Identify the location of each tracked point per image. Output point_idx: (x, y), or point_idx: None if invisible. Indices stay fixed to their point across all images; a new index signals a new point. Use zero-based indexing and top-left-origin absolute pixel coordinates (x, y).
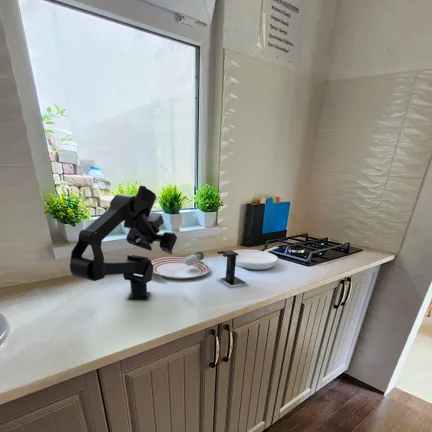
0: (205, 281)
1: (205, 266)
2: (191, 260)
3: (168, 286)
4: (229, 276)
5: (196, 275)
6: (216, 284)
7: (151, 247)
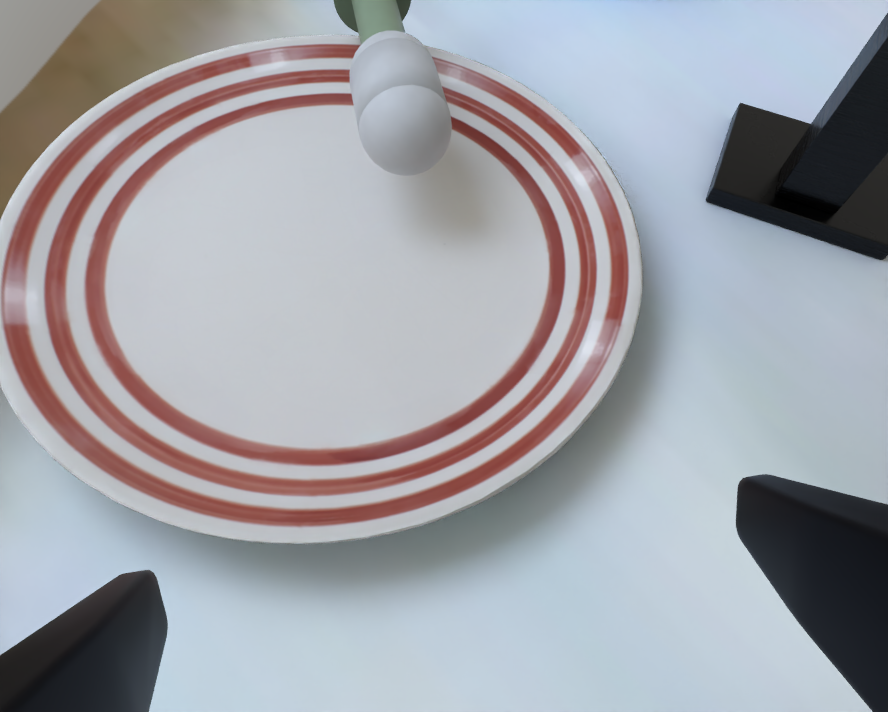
0: (650, 278)
1: (478, 89)
2: (446, 124)
3: (525, 617)
4: (866, 175)
5: (539, 247)
6: (760, 276)
7: (135, 590)
